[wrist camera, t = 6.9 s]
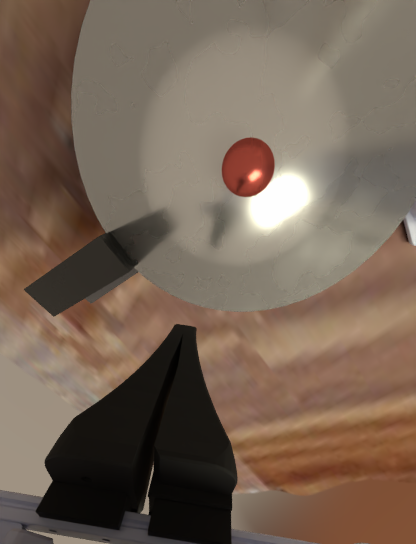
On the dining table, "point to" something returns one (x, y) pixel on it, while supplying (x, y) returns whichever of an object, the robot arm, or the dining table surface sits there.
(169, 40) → the cooker lid
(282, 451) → the dining table surface
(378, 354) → the dining table surface
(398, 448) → the dining table surface
